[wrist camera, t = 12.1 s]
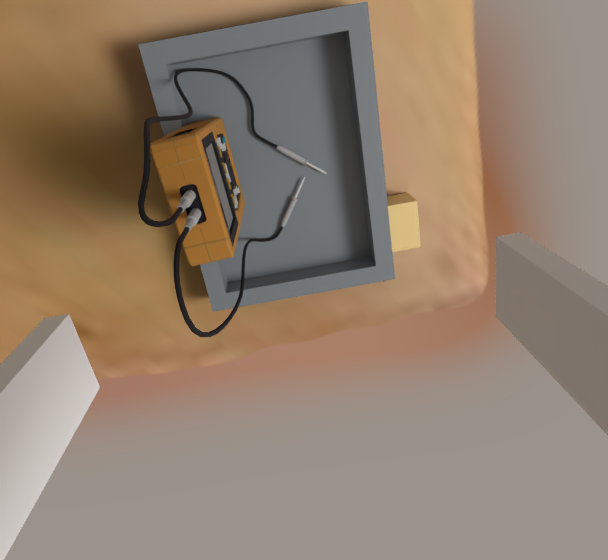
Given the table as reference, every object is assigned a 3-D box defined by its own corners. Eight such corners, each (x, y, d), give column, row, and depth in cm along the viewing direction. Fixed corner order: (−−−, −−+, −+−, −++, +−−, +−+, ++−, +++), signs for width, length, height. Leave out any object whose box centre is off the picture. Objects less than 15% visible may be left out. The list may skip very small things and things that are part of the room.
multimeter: (337, 226, 41) (391, 346, 22) (226, 251, 41) (187, 390, 23) (302, 40, 35) (334, -3, 16) (172, 71, 35) (61, 62, 17)
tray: (216, 296, 43) (212, 311, 40) (148, 47, 35) (138, 44, 32) (412, 261, 43) (422, 273, 40) (391, 1, 35) (402, -5, 32)
